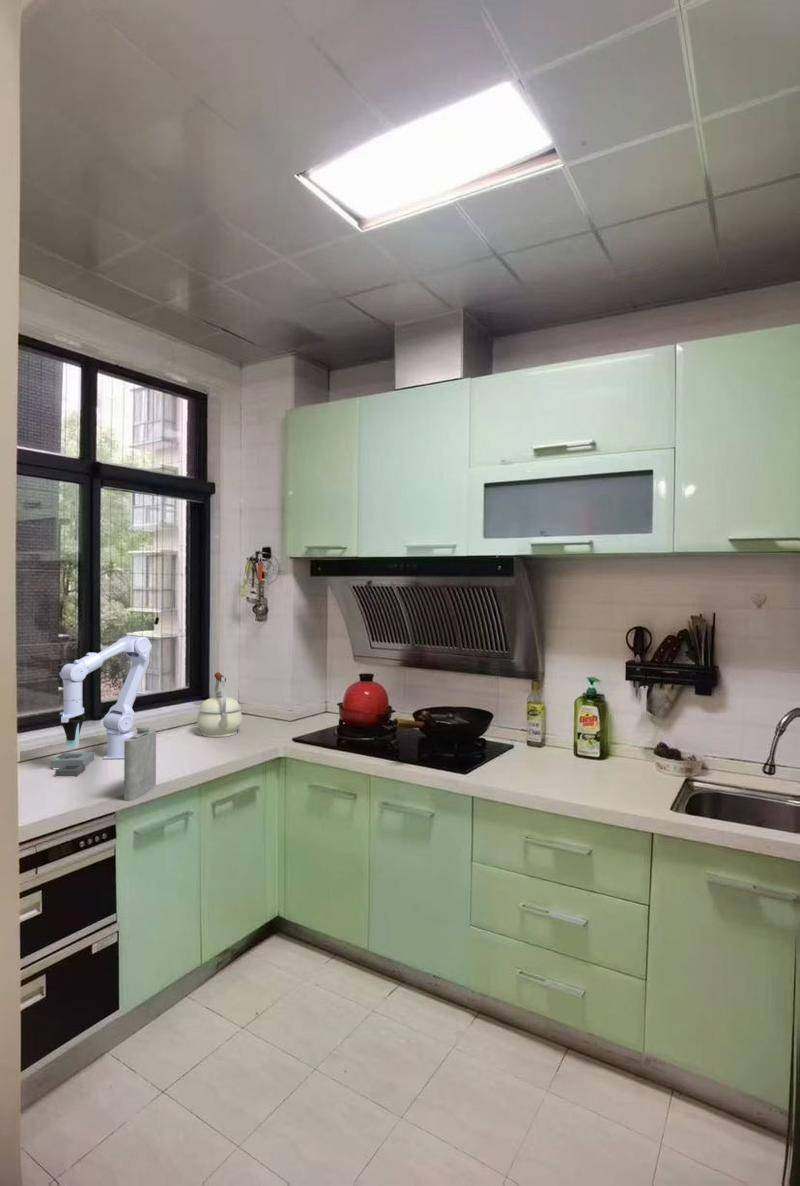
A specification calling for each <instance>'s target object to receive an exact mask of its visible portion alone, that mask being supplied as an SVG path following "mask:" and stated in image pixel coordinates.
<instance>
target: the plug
mask: <svg viewBox="0 0 800 1186" xmlns="http://www.w3.org/2000/svg"><path fill="white" fill-rule="evenodd" d="M65 739H66V740H65V745H66V746H65V748H66V750H76V749H77V748H80V734H79V723H78V725H77V729H76V736H75V740H74V741H67V737H66V736H65Z"/></svg>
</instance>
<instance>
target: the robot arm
mask: <svg viewBox="0 0 800 1186" xmlns="http://www.w3.org/2000/svg"><path fill="white" fill-rule="evenodd" d="M152 648H153V645H152V644H151V641H150V639H148V637H146V636H136V635H135V636H133V635H124V637H121V638H119V639H118V640H117V641H115V642H113V643H112V644H110V645H109V646H108V647H106V648H104V649H102V650H101V651H100V652H87V653H86V654H85V656H83V657H82V658H80V659H75V660H74V661H73V663H66V664H64V666H63V667H62V668H61V670H60V672H59V677H60V678H61V679H62V684H63V686H62V688H63V692H62V694H63V695H62V696H63V699H62V700H63V711H61V712H59V716H61V717H60V720H59V724H60V725H61V726H62V728H63V731H64V733H65V738H66V737H67V741H74V740H75V736H76V729H77V725H78V723H79V735H80V733H81V729H82V726H83V723H84V721H85V719H86V715H83V714H85V707H83V681H84V679H86V677H87V675H89V674H90V673H92V672H94V671H95V670H97V669H99V668H101V667H102V666H103V663H104V662H105V661H107V660H109V659H111V658H112V657H115V656H117V655H119V654H121V653H125V655H126V656H128V658H129V659H130V661H131V662H132V663H131V666H130V668H129V671H128V673H127V676H126V679H125V682H124V683H123V686H122V689H121V691H120V693H119V696H118V698H117V701H116V703H115V704H113V705H112V706H111V707H110V708H109V710H108V712H107V713H106V714H105V715H104V717H103V719H102V720H103V721H102V724H103V726H104V728H105V729H106V733H107V735H106V736H107V738H106V743H107V744H106V747H107V748H106V755H104V756H103V757H102V759H103V760H106V759H107V760H110V759H113V760H114V759H115V760H117V759H121V760H122V759H124V740H126V739H128V738H130V737H132V736H134V735H136V734H137V732H135V731H131V729H132V728H133V725H134V717H135V715H136V714H135V711H134V709H133V705H134V704H135V703H134V702H135V701H136V698H137V695H138V693H139V689H140V688H141V685H142V682H143V680H144V678H145V675H146V672H147V670H148V668H149V664H150V652H151V649H152Z"/></svg>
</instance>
